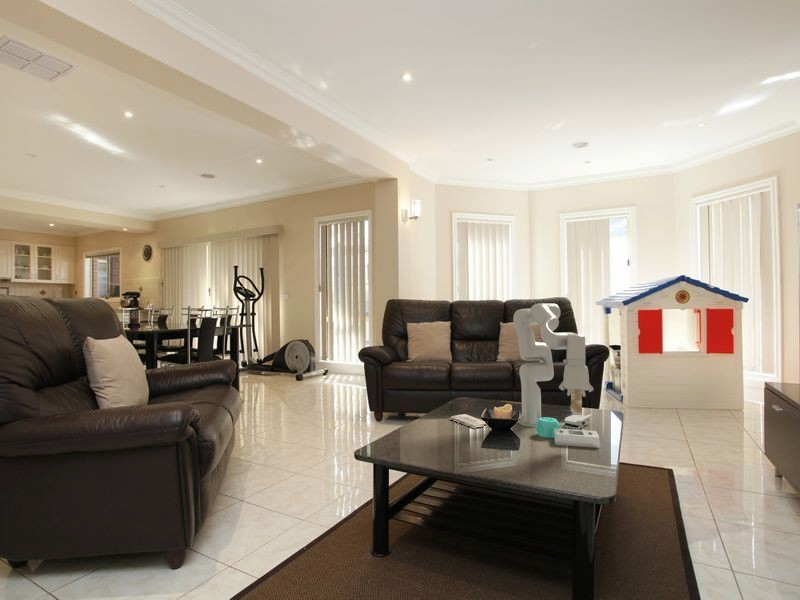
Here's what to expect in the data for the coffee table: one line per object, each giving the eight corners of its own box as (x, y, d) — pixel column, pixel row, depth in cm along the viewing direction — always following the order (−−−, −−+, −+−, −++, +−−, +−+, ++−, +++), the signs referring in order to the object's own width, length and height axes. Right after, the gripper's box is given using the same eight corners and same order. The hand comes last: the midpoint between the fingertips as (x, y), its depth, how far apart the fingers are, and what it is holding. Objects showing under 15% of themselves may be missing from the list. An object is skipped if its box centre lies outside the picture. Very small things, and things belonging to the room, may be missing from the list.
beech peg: (571, 411, 190) (571, 388, 190) (570, 409, 194) (570, 386, 194) (581, 412, 188) (581, 389, 188) (580, 410, 192) (580, 387, 192)
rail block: (555, 445, 194) (554, 433, 194) (554, 439, 203) (553, 427, 203) (599, 449, 188) (599, 436, 188) (596, 442, 198) (596, 430, 198)
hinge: (580, 421, 216) (560, 417, 222) (580, 430, 216) (560, 427, 222) (592, 414, 228) (572, 411, 235) (592, 423, 228) (573, 420, 235)
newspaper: (447, 420, 239) (447, 416, 239) (466, 418, 244) (466, 413, 244) (471, 431, 218) (471, 426, 218) (491, 428, 223) (491, 423, 223)
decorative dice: (547, 439, 202) (546, 422, 202) (535, 435, 210) (535, 418, 210) (560, 437, 205) (560, 420, 205) (549, 433, 213) (548, 416, 213)
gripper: (555, 363, 190) (555, 405, 190) (598, 364, 185) (598, 408, 185) (555, 360, 197) (555, 401, 197) (595, 362, 192) (596, 404, 192)
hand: (576, 404), depth 191 cm, fingers closed on beech peg, 4 cm apart
